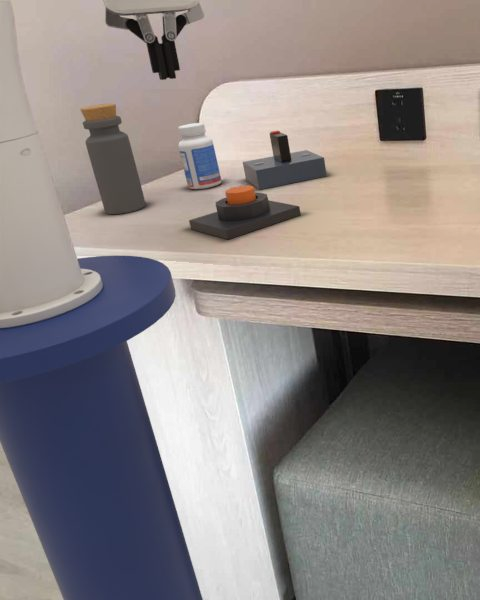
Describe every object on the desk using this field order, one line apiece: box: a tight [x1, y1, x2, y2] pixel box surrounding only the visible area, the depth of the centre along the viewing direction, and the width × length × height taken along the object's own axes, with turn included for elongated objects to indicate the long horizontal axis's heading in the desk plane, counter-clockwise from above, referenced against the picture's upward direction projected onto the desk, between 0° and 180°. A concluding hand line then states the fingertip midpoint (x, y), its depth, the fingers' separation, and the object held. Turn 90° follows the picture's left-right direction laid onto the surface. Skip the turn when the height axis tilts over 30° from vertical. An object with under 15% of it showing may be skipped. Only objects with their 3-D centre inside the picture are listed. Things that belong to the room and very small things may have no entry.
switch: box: [224, 185, 256, 204], centre depth 86 cm, size 4×4×2 cm
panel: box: [242, 149, 328, 191], centre depth 109 cm, size 11×9×3 cm
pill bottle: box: [177, 122, 222, 190], centre depth 109 cm, size 6×5×10 cm
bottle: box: [79, 102, 147, 215], centre depth 99 cm, size 6×6×15 cm
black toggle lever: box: [269, 129, 291, 162], centre depth 108 cm, size 5×2×4 cm, turn 25°
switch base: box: [188, 192, 301, 240], centre depth 87 cm, size 11×9×3 cm
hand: (167, 78), depth 79 cm, fingers closed
